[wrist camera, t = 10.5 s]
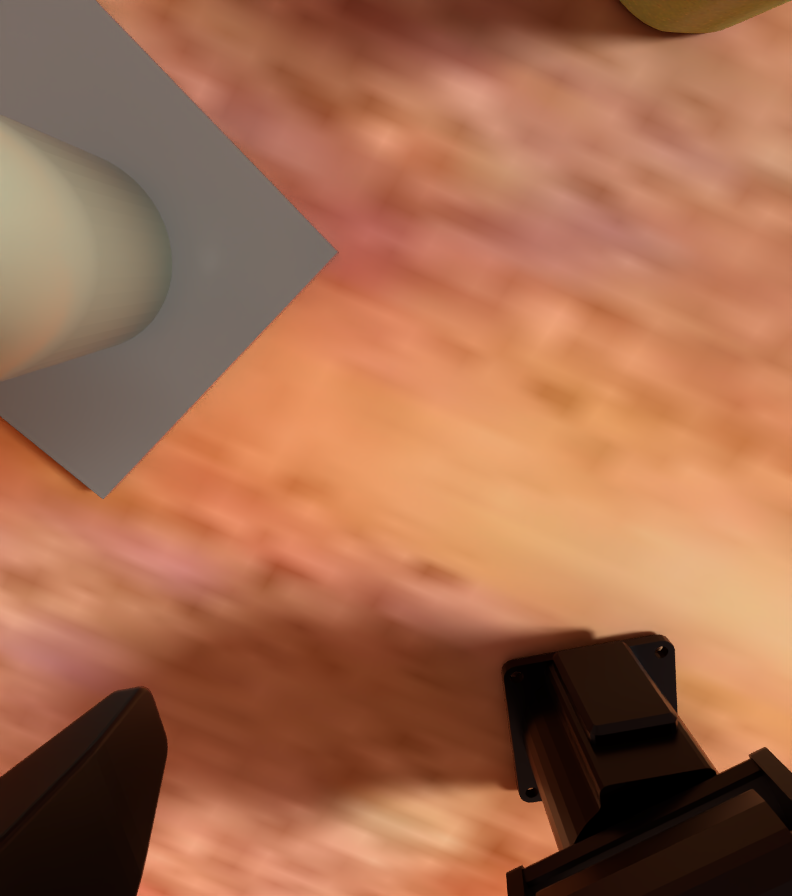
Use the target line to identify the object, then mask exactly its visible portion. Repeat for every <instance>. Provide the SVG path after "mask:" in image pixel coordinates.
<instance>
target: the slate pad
mask: <svg viewBox="0 0 792 896" xmlns="http://www.w3.org/2000/svg"><path fill="white" fill-rule="evenodd" d="M0 115H3V116H5V117H7V118H10V119H12V120H14V121H17V122H19V123H21V124H24V125H26V126H28V127H31V128H33V129H35V130H38V131H40V132H42V133H44V134H47V135H49V136H51V137H54V138H56V139H58V140H61V141H63V142H65V143H68V144H70V145H72V146H75V147H77V148H79V149H82V150H84V151H86V152H88V153H91V154H93V155H95V156H98V157H100V158H102V159H104V160H106V161H109V162H110V163H112V164H113V165H115V166H117V167H118V168H120V169H121V170H123V171H124V172H125V173H126V174H128V175H129V176H130V177H131V178H133V179H134V180H135V181H136V182H137V183H138V184H139V185H140V186H141V187H142V189H143V190H144V191H145V192H146V194H147V195H148V196H149V197H150V199H151V200H152V202H153V203H154V205H155V207H156V208H157V210H158V211H159V214H160V216H161V218H162V220H163V222H164V224H165V227H166V230H167V233H168V236H169V241H170V246H171V253H172V276H171V281H170V286H169V290H168V293H167V296H166V299H165V301H164V303H163V305H162V307H161V309H160V311H159V312H158V314H157V315H156V317H155V318H154V319H153V321H152V322H151V323H150V324H149V325H148V326H147V327H146V328H145V329H144V330H143V331H141V332H140V333H139V334H138V335H136V336H135V337H133V338H131V339H130V340H128V341H126V342H124V343H121V344H119V345H116V346H113V347H110V348H107V349H104V350H101V351H97V352H94V353H91V354H88V355H85V356H81V357H78V358H75V359H72V360H69V361H65V362H62V363H59V364H56V365H53V366H49V367H46V368H43V369H40V370H36V371H33V372H30V373H27V374H24V375H20V376H17V377H14V378H11V379H8V380H4V381H1V382H0V416H1V417H2V418H3V419H4V420H5V421H7V422H8V423H9V424H10V425H12V426H13V427H14V428H15V429H17V430H18V431H19V432H20V433H22V434H23V435H24V436H25V437H27V438H28V439H29V440H30V441H31V442H33V443H34V444H35V445H36V446H38V447H39V448H40V449H41V450H43V451H44V452H45V453H46V454H48V455H49V456H50V457H51V458H52V459H54V460H55V461H56V462H57V463H59V464H60V465H61V466H62V467H64V468H65V469H66V470H67V471H69V472H70V473H71V474H72V475H74V476H75V477H76V478H77V479H78V480H80V481H81V482H82V483H83V484H85V485H86V486H87V487H88V488H90V489H91V490H92V491H93V492H95V493H96V494H97V495H98V496H99V497H101V498H102V499H104V498H105V497H106V496H107V495H109V494H110V493H111V492H112V491H113V490H114V489H115V488H116V487H117V486H118V485H119V484H120V483H121V482H122V481H123V480H124V478H125V477H126V476H127V475H128V474H129V473H130V472H131V471H132V470H133V469H134V468H135V467H136V466H137V465H138V464H139V463H140V462H141V461H142V460H143V458H144V457H145V456H146V455H147V454H148V453H149V452H150V451H151V450H152V449H153V448H154V447H155V446H156V445H157V444H158V443H159V442H160V441H161V439H162V438H163V437H164V436H165V435H166V434H167V433H168V432H169V431H170V430H171V429H172V428H173V427H174V426H175V425H176V424H177V423H178V422H179V421H180V419H181V418H182V417H183V416H184V415H185V414H186V413H187V412H188V411H189V410H190V409H191V408H192V407H193V406H194V405H195V404H196V403H197V402H198V400H199V399H200V398H201V397H202V396H203V395H204V394H205V393H206V392H207V391H208V390H209V389H210V388H211V387H212V386H213V385H214V384H215V383H216V382H217V380H218V379H219V378H220V377H221V376H222V375H223V374H224V373H225V372H226V371H227V370H228V369H229V368H230V367H231V366H232V365H233V364H234V363H235V362H236V360H237V359H238V358H239V357H240V356H241V355H242V354H243V353H244V352H245V351H246V350H247V349H248V348H249V347H250V346H251V345H252V344H253V343H254V341H255V340H256V339H257V338H258V337H259V336H260V335H261V334H262V333H263V332H264V331H265V330H266V329H267V328H268V327H269V326H270V325H271V324H272V323H273V321H274V320H275V319H276V318H277V317H278V316H279V315H280V314H281V313H282V312H283V311H284V310H285V309H286V308H287V307H288V306H289V305H290V304H291V303H292V301H293V300H294V299H295V298H296V297H297V296H298V295H299V294H300V293H301V292H302V291H303V290H304V289H305V288H306V287H307V286H308V285H309V284H310V282H311V281H312V280H313V279H314V278H315V277H316V276H317V275H318V274H319V273H320V272H321V271H322V270H323V269H324V268H325V267H326V266H327V265H328V264H329V262H330V261H331V260H332V259H333V258H334V257H335V256H336V255H337V254H338V253H339V252H338V251H337V250H336V249H335V248H334V247H333V246H332V245H331V244H330V243H329V242H328V241H327V240H326V239H325V238H324V237H323V236H322V235H321V234H320V233H319V232H318V231H317V229H316V228H315V227H314V226H313V225H312V224H311V223H310V222H309V221H308V220H307V219H306V218H305V217H304V216H303V215H302V214H301V213H300V212H299V211H298V210H297V209H296V208H295V207H294V206H293V205H292V204H291V202H290V201H289V200H288V199H287V198H286V197H285V196H284V195H283V194H282V193H281V192H280V191H279V190H278V189H277V188H276V187H275V186H274V185H273V184H272V183H271V182H270V181H269V180H268V179H267V178H266V176H265V175H264V174H263V173H262V172H261V171H260V170H259V169H258V168H257V167H256V166H255V165H254V164H253V163H252V162H251V161H250V160H249V159H248V158H247V157H246V156H245V155H244V154H243V153H242V152H241V151H240V149H239V148H238V147H237V146H236V145H235V144H234V143H233V142H232V141H231V140H230V139H229V138H228V137H227V136H226V135H225V134H224V133H223V132H222V131H221V130H220V129H219V128H218V127H217V126H216V125H215V124H214V122H213V121H212V120H211V119H210V118H209V117H208V116H207V115H206V114H205V113H204V112H203V111H202V110H201V109H200V108H199V107H198V106H197V105H196V104H195V103H194V102H193V101H192V100H191V99H190V98H189V97H188V95H187V94H186V93H185V92H184V91H183V90H182V89H181V88H180V87H179V86H178V85H177V84H176V83H175V82H174V81H173V80H172V79H171V78H170V77H169V76H168V75H167V74H166V73H165V72H164V71H163V70H162V68H161V67H160V66H159V65H158V64H157V63H156V62H155V61H154V60H153V59H152V58H151V57H150V56H149V55H148V54H147V53H146V52H145V51H144V50H143V49H142V48H141V47H140V46H139V45H138V44H137V43H136V41H135V40H134V39H133V38H132V37H131V36H130V35H129V34H128V33H127V32H126V31H125V30H124V29H123V28H122V27H121V26H120V25H119V24H118V23H117V22H116V21H115V20H114V19H113V18H112V17H111V16H110V14H109V13H108V12H107V11H106V10H105V9H104V8H103V7H102V6H101V5H100V4H99V3H98V2H97V1H96V0H0Z"/></svg>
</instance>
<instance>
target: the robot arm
mask: <svg viewBox="0 0 792 896" xmlns="http://www.w3.org/2000/svg"><path fill="white" fill-rule="evenodd" d="M661 646H663V648H662V649H661V650H660V651H658V652H655V650H656V649H657V648H659V647H661ZM514 672H521V673H520V674H519V675H517V676H511V675H512V673H514ZM501 673H502V681H503V688H504V695H505V702H506V710H507V717H508V724H509V732H510V739H511V746H512V753H513V761H514V768H515V775H516V782H517V788H518V791H519V795H520V797H521V799H522V800H523V801H525V802H538V801H542V802H543V805H544V808H545V811H546V814H547V817H548V820H549V823H550V826H551V829H552V832H553V835H554V838H555V841H556V844H557V847H558V850H559V852H556V853H554V854H552V855H550V856H548V857H546V858H544V859H542V860H540V861H538V862H536V863H534V864H532V865H530V866H528V867H526V868H524V867H523V866H522V865H521V866H519V867H517V868H515V869H513V870H511V871H509V872H507V873H506V878H507V892H508V896H792V773H791V772H790V771H789V770H788V769H787V768H786V767H785V766H784V765H783V764H782V763H781V762H780V761H779V760H778V759H777V758H776V757H775V756H774V755H773V754H772V753H771V752H770V751H769V750H768V749H767V748H766V747H764V748H762V749H759V750H757V751H755V752H753V753H751V754H749V757H750V759H748V760H746V761H744V762H742V763H740V764H738V765H735V766H733V767H731V768H729V769H727V770H725V771H723V772H721V773H718V771H717V770H716V768H715V767H714V766H713V764H712V763H711V761H710V760H709V758H708V757H707V756H706V754H705V753H704V751H703V750H702V748H701V747H700V746H699V744H698V743H697V741H696V740H695V738H694V737H693V736H692V734H691V733H690V731H689V730H688V729H687V727H686V726H685V724H684V723H683V721H682V720H681V719H680V717H679V716H678V714H677V693H676V669H675V649H674V646H673V645H672V643H671V642H670V641H669V640H668V639H667V638H666V637H665V636H663V635H652V636H646V637H640V638H635V639H629V640H623V641H615V642H609V643H603V644H597V645H592V646H586V647H580V648H574V649H569V650H563V651H558V652H554V653H548V654H543V655H537V656H531V657H525V658H520V659H514V660H511V661H508V662H507V663H505V664H504V666H503V667H502V672H501ZM167 750H168V746H167V737H166V733H165V730H164V727H163V724H162V721H161V718H160V715H159V712H158V710H157V707H156V704H155V701H154V698H153V695H152V693H151V692H150V690H149V689H148V688H146V687H144V686H141V687H135V688H129V689H123V690H118V691H115V692H113V693H111V694H110V695H109V696H107V697H106V698H105V699H103V700H102V701H101V702H99V703H98V704H97V705H95V706H94V707H93V708H91V709H90V710H89V711H87V712H86V713H85V714H83V715H82V716H81V717H80V718H78V719H77V720H76V721H74V722H73V723H72V724H70V725H69V726H68V727H66V728H65V729H64V730H62V731H61V732H60V733H58V734H57V735H56V736H54V737H53V738H52V739H50V740H49V741H48V742H46V743H45V744H44V745H42V746H41V747H40V748H38V749H37V750H36V751H34V752H33V753H32V754H30V755H29V756H28V757H27V758H25V759H24V760H23V761H21V762H20V763H19V764H17V765H16V766H15V767H13V768H12V769H11V770H9V771H8V772H7V773H5V774H4V775H3V776H1V777H0V896H137V892H138V889H139V885H140V882H141V878H142V874H143V870H144V866H145V861H146V857H147V852H148V847H149V842H150V837H151V832H152V828H153V823H154V818H155V813H156V808H157V803H158V798H159V793H160V788H161V783H162V778H163V773H164V768H165V763H166V758H167ZM529 788H533V789H530V790H527V789H529Z"/></svg>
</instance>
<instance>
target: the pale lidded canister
mask: <svg viewBox="0 0 792 896" xmlns="http://www.w3.org/2000/svg"><path fill="white" fill-rule="evenodd" d="M171 276H172V253H171V246H170V241H169V236H168V233H167V230H166V227H165V224H164V222H163V220H162V218H161V216H160V214H159V211H158V210H157V208H156V207H155V205H154V203H153V202H152V200H151V199H150V197H149V196H148V195H147V194H146V192H145V191H144V190H143V189H142V187H141V186H140V185H139V184H138V183H137V182H136V181H135V180H134V179H133V178H131V177H130V176H129V175H128V174H126V173H125V172H124V171H123V170H121V169H120V168H118V167H117V166H115V165H113V164H112V163H110V162H109V161H106V160H104V159H102V158H100V157H98V156H95V155H93V154H91V153H88V152H86V151H84V150H82V149H79V148H77V147H75V146H72V145H70V144H68V143H65V142H63V141H61V140H58V139H56V138H54V137H51V136H49V135H47V134H44V133H42V132H40V131H38V130H35V129H33V128H31V127H28V126H26V125H24V124H21V123H19V122H17V121H14V120H12V119H10V118H7V117H5V116H3V115H0V382H1V381H4V380H8V379H11V378H14V377H17V376H20V375H24V374H27V373H30V372H33V371H36V370H40V369H43V368H46V367H49V366H53V365H56V364H59V363H62V362H65V361H69V360H72V359H75V358H78V357H81V356H85V355H88V354H91V353H94V352H97V351H101V350H104V349H107V348H110V347H113V346H116V345H119V344H121V343H124V342H126V341H128V340H130V339H131V338H133V337H135V336H136V335H138V334H139V333H140V332H141V331H143V330H144V329H145V328H146V327H147V326H148V325H149V324H150V323H151V322H152V321H153V319H154V318H155V317H156V315H157V314H158V312H159V311H160V309H161V307H162V305H163V303H164V301H165V299H166V296H167V293H168V290H169V286H170V281H171Z"/></svg>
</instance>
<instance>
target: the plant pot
mask: <svg viewBox="0 0 792 896" xmlns="http://www.w3.org/2000/svg"><path fill="white" fill-rule="evenodd" d="M789 1H791V0H620V2H621V3H622V4H623V5H624V6H625V7H626V8H627V9H628V10H629V11H630V12H631V13H632V14H633V15H634V16H635V17H637V18H638V19H640V20H641V21H642V22H644V23H645V24H647V25H649V26H651V27H653V28H655V29H658V30H660V31H666V32H679V33H710V32H716V31H720V30H723V29H725V28H728V27H730V26H733V25H735V24H738V23H740V22H742V21H745V20H747V19H749V18H752V17H754V16H756V15H759V14H761V13H763V12H766V11H768V10H770V9H772V8H775V7H777V6H779V5H782V4H784V3H786V2H789Z"/></svg>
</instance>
